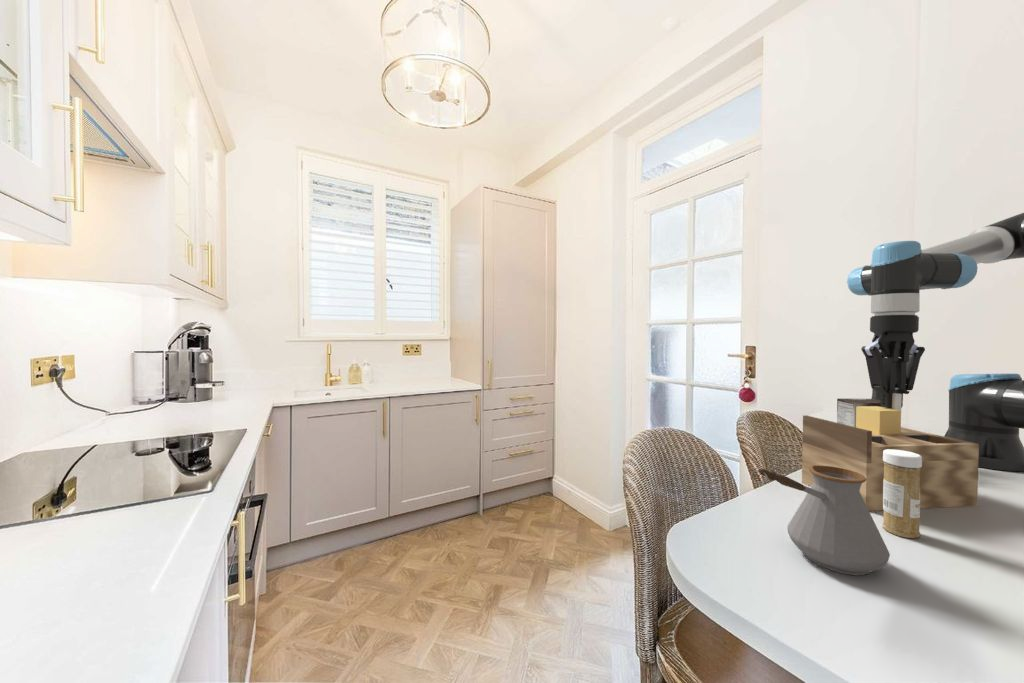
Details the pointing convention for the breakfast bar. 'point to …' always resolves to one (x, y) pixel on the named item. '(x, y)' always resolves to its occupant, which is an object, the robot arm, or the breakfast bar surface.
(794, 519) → the coffee pot
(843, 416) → the coffee box
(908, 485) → the sprinkles bottle
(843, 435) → the box
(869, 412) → the ochre block
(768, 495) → the breakfast bar surface
